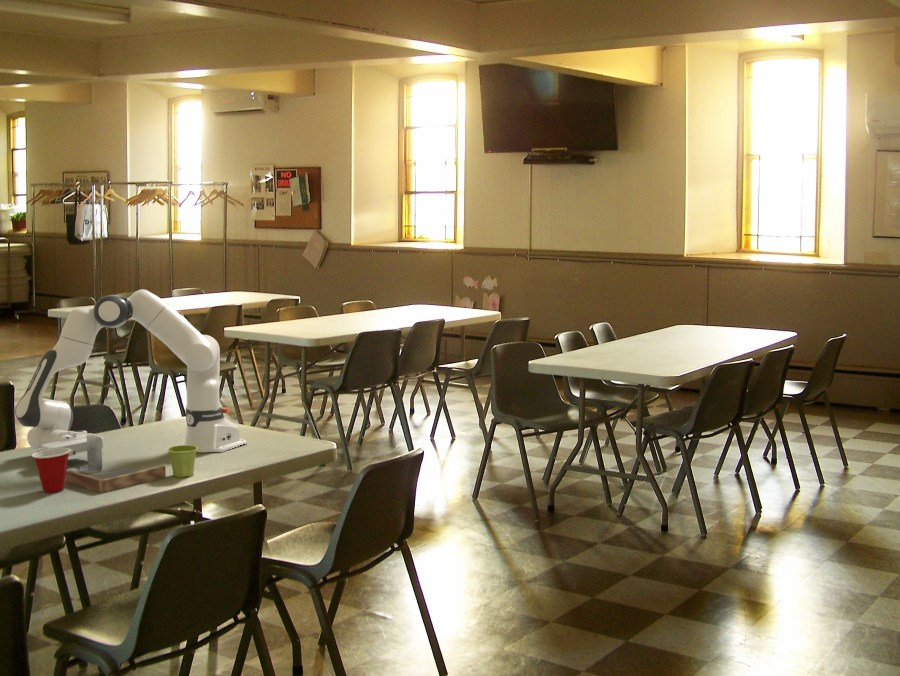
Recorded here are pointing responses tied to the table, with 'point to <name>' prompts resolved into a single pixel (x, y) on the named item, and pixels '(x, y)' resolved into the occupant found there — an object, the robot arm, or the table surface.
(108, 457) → the table surface
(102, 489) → the corner walls
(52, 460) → the plastic cup
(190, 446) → the plant pot
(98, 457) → the steel bookend
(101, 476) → the felt mat
